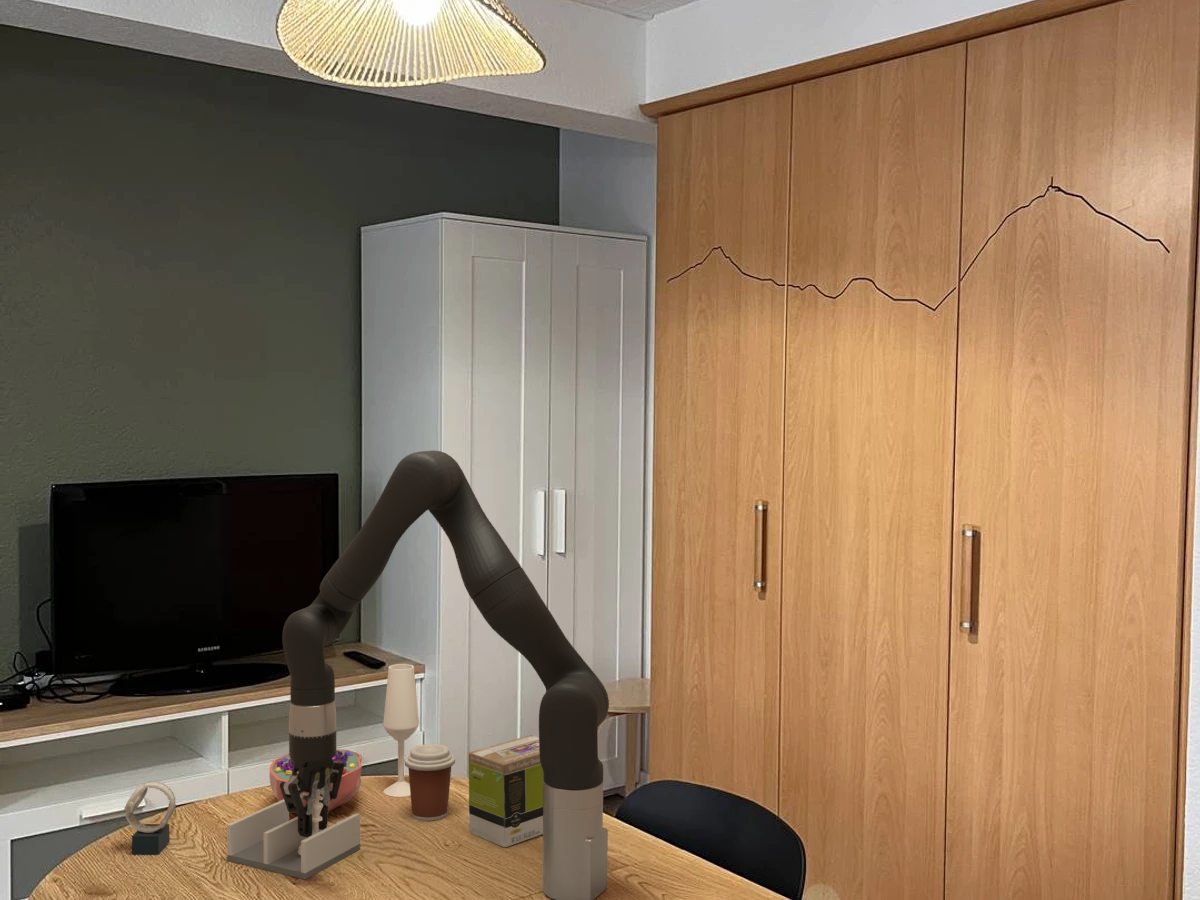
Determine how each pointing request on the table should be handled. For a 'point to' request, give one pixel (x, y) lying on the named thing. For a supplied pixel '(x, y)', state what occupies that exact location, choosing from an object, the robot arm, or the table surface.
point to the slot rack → (289, 842)
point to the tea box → (506, 791)
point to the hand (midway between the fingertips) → (313, 831)
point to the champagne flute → (400, 717)
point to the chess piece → (315, 816)
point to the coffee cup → (429, 780)
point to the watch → (149, 835)
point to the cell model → (347, 788)
